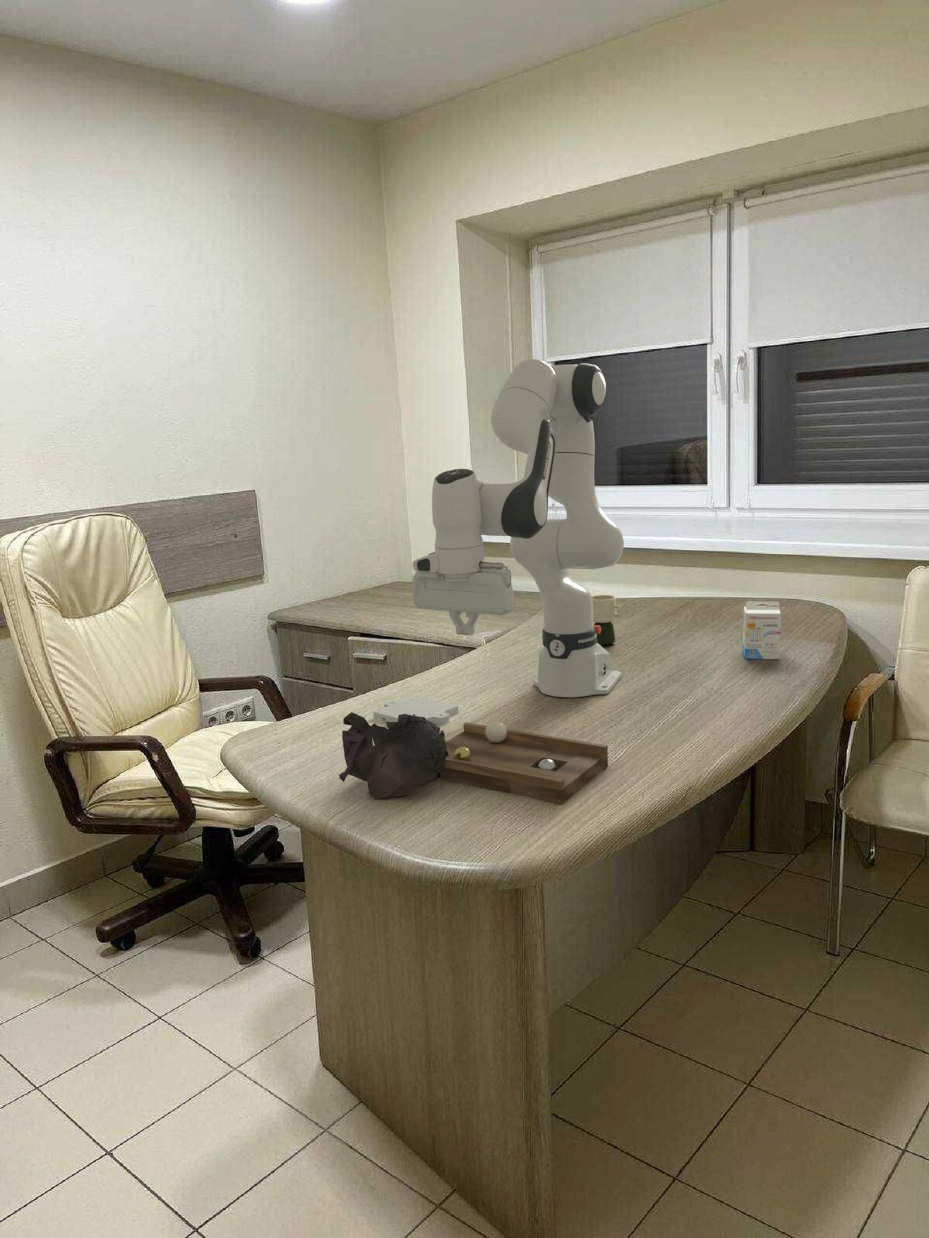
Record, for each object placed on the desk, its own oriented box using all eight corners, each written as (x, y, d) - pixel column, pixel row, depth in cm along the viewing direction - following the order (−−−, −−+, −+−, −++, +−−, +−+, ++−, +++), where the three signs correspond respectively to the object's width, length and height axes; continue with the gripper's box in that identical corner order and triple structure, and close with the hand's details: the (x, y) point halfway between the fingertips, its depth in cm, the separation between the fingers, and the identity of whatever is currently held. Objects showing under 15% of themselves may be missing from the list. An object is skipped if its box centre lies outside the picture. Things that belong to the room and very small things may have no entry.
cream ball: (493, 737, 173) (492, 717, 172) (511, 740, 171) (510, 720, 170) (481, 744, 170) (480, 723, 169) (500, 747, 168) (499, 726, 167)
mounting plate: (366, 718, 198) (365, 709, 197) (408, 702, 207) (408, 694, 207) (424, 733, 186) (424, 725, 185) (467, 716, 195) (466, 708, 195)
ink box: (744, 659, 225) (744, 606, 222) (742, 650, 233) (742, 599, 230) (780, 659, 223) (781, 606, 220) (777, 650, 231) (778, 599, 228)
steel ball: (550, 752, 160) (563, 766, 159) (540, 764, 161) (553, 778, 160) (540, 758, 157) (554, 773, 156) (530, 770, 159) (543, 785, 158)
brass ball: (460, 758, 163) (459, 743, 163) (474, 761, 162) (473, 745, 161) (451, 764, 161) (450, 748, 160) (465, 767, 159) (464, 751, 158)
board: (467, 741, 179) (466, 722, 178) (608, 766, 162) (607, 745, 162) (413, 773, 164) (411, 752, 163) (561, 804, 148) (560, 781, 147)
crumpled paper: (327, 802, 152) (441, 816, 147) (327, 717, 150) (442, 728, 145) (360, 777, 166) (465, 789, 160) (360, 698, 163) (467, 708, 158)
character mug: (628, 643, 246) (627, 596, 243) (615, 649, 241) (614, 601, 238) (592, 639, 253) (591, 593, 250) (579, 645, 247) (578, 598, 244)
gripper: (518, 559, 162) (522, 634, 165) (424, 555, 173) (430, 625, 176) (501, 566, 157) (505, 643, 160) (405, 561, 168) (411, 634, 171)
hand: (465, 634), depth 168 cm, fingers closed
